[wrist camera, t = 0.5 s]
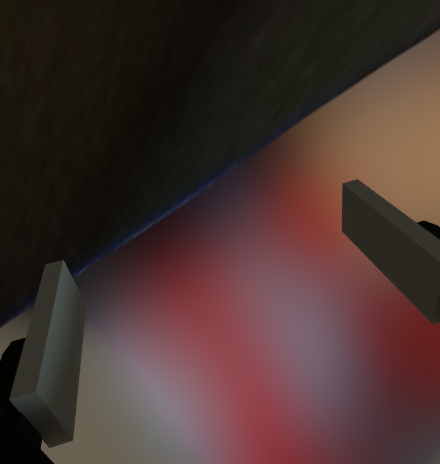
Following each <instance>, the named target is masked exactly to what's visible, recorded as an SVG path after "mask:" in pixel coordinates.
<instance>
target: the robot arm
mask: <svg viewBox="0 0 440 464" xmlns="http://www.w3.org/2000/svg"><path fill="white" fill-rule="evenodd" d="M342 194H343V195H342V232H343V233H344V234H345V235H346V236H347V237H348V238H349V239H350V240H351V241H352V242H353V243H354V244H355V245H356V246H357V247H358V248H359V249H360V250H361V251H362V252H363V253H364V254H365V255H366V256H367V257H368V258H369V259H370V260H371V261H372V263H373V264H374V265H375V266H377V268H378V269H379V270H380V271H381V272H382V273H383V274H384V275H385V276H386V277H387V278H388V279H389V280H390V281H391V282H392V283H393V284H394V285H395V286H396V287H397V288H398V289H399V290H400V291H401V292H402V293H403V294H404V295H405V296H406V297H407V298H408V299H409V300H410V301H411V302H412V303H413V304H414V305H415V306H416V307H417V308H418V309H419V310H420V311H421V313H422V314H423V315H424V316H425V317H426V318H427V319H428V320H429V321H430V322H431V323H432V324H435V323H438V322H440V227H439V226H438V225H435V224H432V223H429V222H427V221H421V222H418V223H416V222H415V221H413V220H412V219H410V218H409V217H408V216H406V215H405V214H404V213H402V212H401V211H400V210H398V209H397V208H396V207H394V206H393V205H392V204H390V203H389V202H387V201H386V200H385V199H384V198H382V197H381V196H379V195H378V194H377V193H375V192H374V191H373V190H371V189H370V188H369V187H367V186H366V185H365V184H363V183H362V182H361V181H359V180H358V179H357V180H353V181H350V182H346V183H343V192H342ZM85 314H86V303H85V301H84V299H83V297H82V296H81V294H80V292H79V290H78V288H77V286H76V284H75V282H74V280H73V278H72V276H71V274H70V272H69V270H68V268H67V266H66V264H65V262H64V260H61V261H58V262H54V263H50V264H47V265H45V269H44V272H43V276H42V280H41V283H40V287H39V291H38V295H37V298H36V302H35V306H34V310H33V313H32V317H31V321H30V324H29V328H28V332H27V336H26V338H23V339H19V340H16V341H13V342H11V343H10V345H9V346H8V348H7V349H6V350H5V352H4V353H3V354H2V357H1V360H0V464H54V463H53V462H52V461H51V460H50V459H49V458H48V457H47V456H46V455H45V454H44V452H43V451H42V450H41V443H42V440H43V441H44V442H45V443H46V444H47V445H48V447H49V448H51V447H54V446H57V445H60V444H63V443H67V442H69V441H72V440H73V435H74V434H73V433H74V424H75V415H76V405H77V395H78V384H79V374H80V364H81V354H82V344H83V334H84V324H85Z"/></svg>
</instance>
